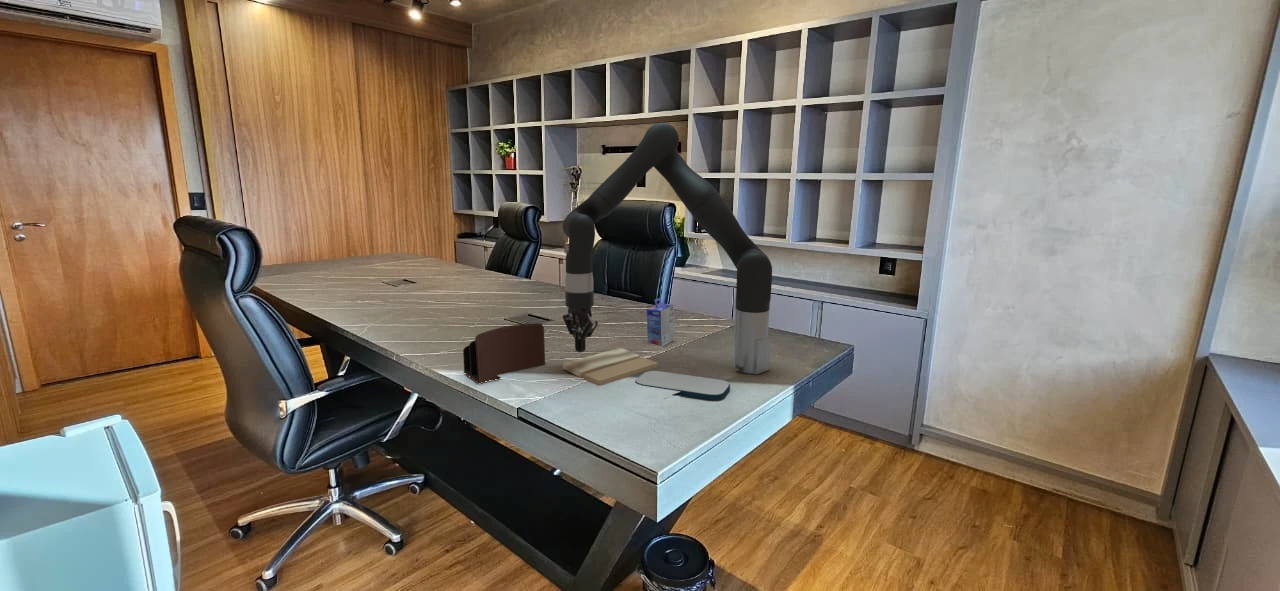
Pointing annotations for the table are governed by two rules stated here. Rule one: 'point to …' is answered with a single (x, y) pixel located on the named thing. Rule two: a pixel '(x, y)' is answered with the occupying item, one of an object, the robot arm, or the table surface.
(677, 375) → the external hard drive
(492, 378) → the letter holder
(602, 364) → the ash plank
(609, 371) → the tan rectangular board
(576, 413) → the table surface
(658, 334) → the ink cartridge box
